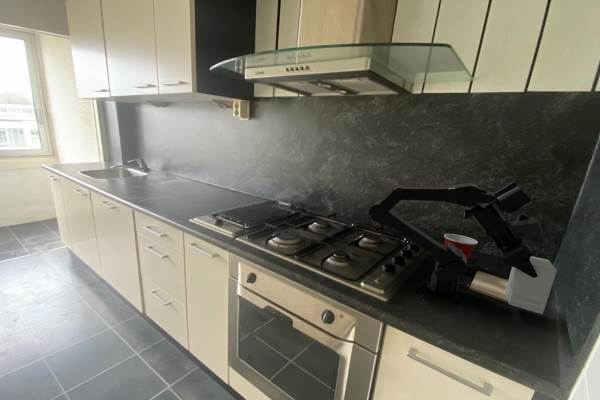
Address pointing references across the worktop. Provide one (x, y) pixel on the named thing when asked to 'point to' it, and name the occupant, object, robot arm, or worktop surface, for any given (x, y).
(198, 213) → the worktop surface
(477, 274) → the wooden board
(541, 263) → the supplement box
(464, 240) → the plastic cup
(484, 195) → the robot arm
